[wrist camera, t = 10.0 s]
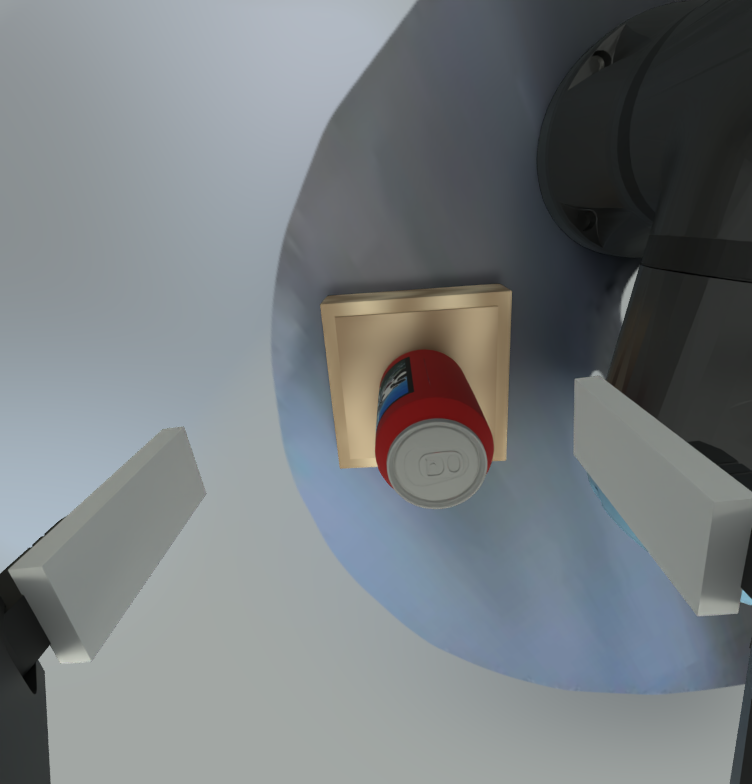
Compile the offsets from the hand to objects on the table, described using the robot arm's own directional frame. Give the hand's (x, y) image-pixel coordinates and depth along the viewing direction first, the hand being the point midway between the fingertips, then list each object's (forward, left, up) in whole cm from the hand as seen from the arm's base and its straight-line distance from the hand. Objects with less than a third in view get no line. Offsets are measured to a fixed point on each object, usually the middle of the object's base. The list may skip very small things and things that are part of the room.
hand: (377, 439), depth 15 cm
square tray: (-2, +6, -24) cm, 24 cm away
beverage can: (-2, +6, -19) cm, 20 cm away
